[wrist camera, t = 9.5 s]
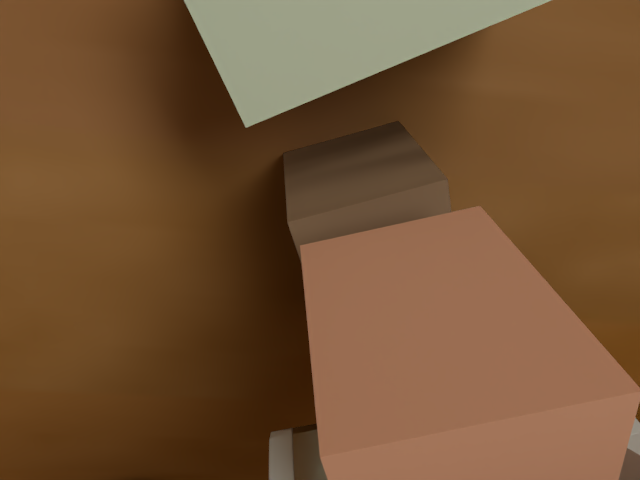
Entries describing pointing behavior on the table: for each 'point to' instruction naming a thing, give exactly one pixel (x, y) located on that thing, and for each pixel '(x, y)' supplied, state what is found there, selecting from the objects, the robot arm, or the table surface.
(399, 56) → the sage brick
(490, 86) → the table surface
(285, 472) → the robot arm
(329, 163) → the walnut brick
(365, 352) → the terracotta brick
